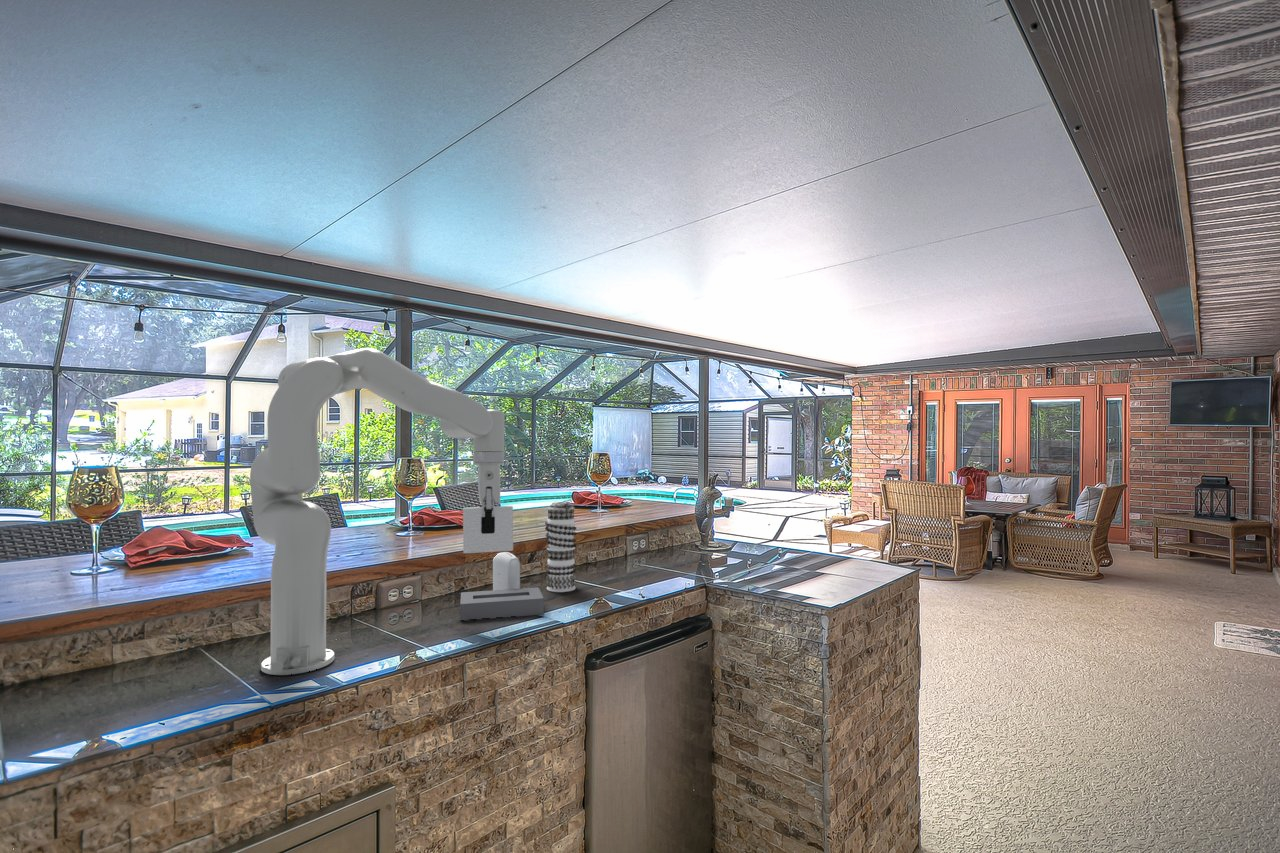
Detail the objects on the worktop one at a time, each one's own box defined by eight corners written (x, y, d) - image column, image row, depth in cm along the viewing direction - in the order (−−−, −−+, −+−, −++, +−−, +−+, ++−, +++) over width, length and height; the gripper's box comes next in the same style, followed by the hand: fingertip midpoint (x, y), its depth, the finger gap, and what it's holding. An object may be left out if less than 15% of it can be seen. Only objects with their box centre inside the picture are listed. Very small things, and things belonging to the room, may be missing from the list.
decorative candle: (539, 587, 185) (539, 502, 185) (566, 583, 190) (566, 500, 191) (554, 594, 177) (554, 505, 178) (582, 589, 183) (582, 503, 184)
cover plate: (513, 550, 158) (512, 506, 158) (463, 553, 154) (463, 508, 155) (512, 549, 159) (512, 505, 160) (463, 552, 156) (463, 507, 157)
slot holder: (543, 614, 157) (543, 598, 157) (460, 620, 151) (460, 604, 152) (538, 602, 168) (538, 587, 168) (460, 607, 163) (460, 592, 163)
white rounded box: (490, 595, 176) (490, 551, 177) (504, 592, 179) (504, 549, 179) (508, 602, 169) (508, 556, 169) (522, 599, 171) (522, 554, 172)
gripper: (505, 459, 151) (504, 536, 150) (502, 458, 166) (501, 528, 166) (473, 459, 149) (472, 537, 148) (472, 458, 164) (472, 529, 164)
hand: (487, 532), depth 157 cm, fingers closed on cover plate, 1 cm apart
